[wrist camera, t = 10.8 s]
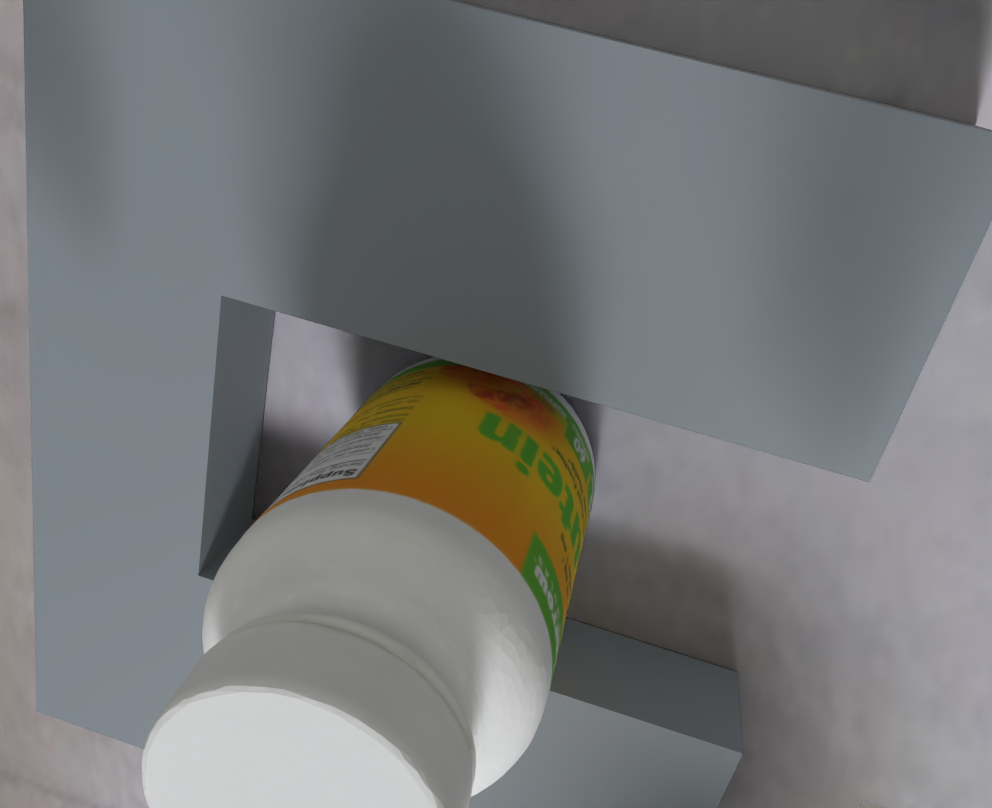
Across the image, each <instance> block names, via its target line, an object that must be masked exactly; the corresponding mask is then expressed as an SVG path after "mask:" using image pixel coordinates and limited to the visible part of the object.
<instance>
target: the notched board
mask: <svg viewBox="0 0 992 808" xmlns="http://www.w3.org/2000/svg"><path fill="white" fill-rule="evenodd" d="M23 12H24V66H25V120H26V173H27V227H28V281H29V334H30V388H31V442H32V495H33V549H34V603H35V656H36V710H37V712H40V713H43V714H46V715H49V716H51V717H54V718H57V719H60V720H63V721H66V722H68V723H71V724H74V725H77V726H80V727H83V728H85V729H88V730H91V731H94V732H97V733H100V734H102V735H105V736H108V737H111V738H114V739H117V740H119V741H122V742H125V743H128V744H131V745H134V746H136V747H139V748H142V749H144V746H145V743H146V740H147V737H148V734H149V732H150V730H151V727H152V726H153V724H154V722H155V720H156V718H157V717H158V715H159V714H160V713H161V711H162V710H163V709H164V707H165V706H166V705H167V703H168V702H169V701H170V699H171V698H172V697H173V695H174V694H175V693H176V691H177V690H178V689H179V687H180V686H181V685H182V683H183V682H184V681H185V680H186V678H187V677H188V676H189V674H190V672H191V671H192V669H193V668H194V666H195V665H196V663H197V662H198V661H199V659H200V658H201V657H202V656H203V655H204V650H203V641H202V630H203V618H204V609H205V605H206V600H207V597H208V594H209V591H210V588H211V585H212V583H213V581H214V578H215V576H216V574H217V572H218V570H219V568H220V567H221V565H222V563H223V562H224V560H225V559H226V557H227V556H228V554H229V553H230V551H231V550H232V549H233V548H234V546H235V545H236V544H237V543H238V541H239V540H240V539H241V538H242V536H243V535H244V534H245V532H246V531H247V530H248V529H249V528H250V527H251V526H252V524H253V523H254V522H255V521H256V519H253V518H252V515H253V506H254V497H255V488H256V479H257V470H258V461H259V452H260V443H261V434H262V425H263V416H264V407H265V398H266V389H267V380H268V371H269V362H270V353H271V344H272V335H273V326H274V317H275V311H277V312H281V313H284V314H288V315H291V316H294V317H298V318H301V319H305V320H308V321H312V322H315V323H319V324H322V325H326V326H329V327H333V328H336V329H340V330H343V331H347V332H350V333H353V334H357V335H360V336H364V337H367V338H371V339H374V340H378V341H381V342H385V343H388V344H392V345H395V346H399V347H402V348H405V349H409V350H412V351H416V352H419V353H423V354H426V355H430V356H433V357H437V358H440V359H444V360H447V361H451V362H454V363H457V364H461V365H464V366H468V367H471V368H475V369H478V370H482V371H485V372H489V373H492V374H496V375H499V376H503V377H506V378H510V379H513V380H516V381H520V382H523V383H527V384H530V385H534V386H537V387H541V388H544V389H548V390H551V391H555V392H558V393H562V394H565V395H568V396H572V397H575V398H579V399H582V400H586V401H589V402H593V403H596V404H600V405H603V406H607V407H610V408H614V409H617V410H620V411H624V412H627V413H631V414H634V415H638V416H641V417H645V418H648V419H652V420H655V421H659V422H662V423H666V424H669V425H673V426H676V427H679V428H683V429H686V430H690V431H693V432H697V433H700V434H704V435H707V436H711V437H714V438H718V439H721V440H725V441H728V442H731V443H735V444H738V445H742V446H745V447H749V448H752V449H756V450H759V451H763V452H766V453H770V454H773V455H777V456H780V457H783V458H787V459H790V460H794V461H797V462H801V463H804V464H808V465H811V466H815V467H818V468H822V469H825V470H829V471H832V472H836V473H839V474H842V475H846V476H849V477H853V478H856V479H860V480H863V481H867V482H870V480H871V478H872V476H873V473H874V471H875V469H876V467H877V465H878V463H879V461H880V458H881V456H882V454H883V452H884V450H885V448H886V446H887V443H888V441H889V439H890V437H891V435H892V433H893V431H894V428H895V426H896V424H897V422H898V420H899V418H900V416H901V413H902V411H903V409H904V407H905V405H906V403H907V401H908V398H909V396H910V394H911V392H912V390H913V388H914V386H915V383H916V381H917V379H918V377H919V375H920V373H921V371H922V368H923V366H924V364H925V362H926V360H927V358H928V356H929V353H930V351H931V349H932V347H933V345H934V343H935V341H936V338H937V336H938V334H939V332H940V330H941V328H942V326H943V323H944V321H945V319H946V317H947V315H948V313H949V311H950V308H951V306H952V304H953V302H954V300H955V298H956V296H957V293H958V291H959V289H960V287H961V285H962V283H963V281H964V278H965V276H966V274H967V272H968V270H969V268H970V266H971V263H972V261H973V259H974V257H975V255H976V253H977V251H978V248H979V246H980V244H981V242H982V240H983V238H984V236H985V233H986V231H987V229H988V227H989V225H990V223H991V221H992V130H989V129H986V128H982V127H979V126H975V125H971V124H967V123H962V122H958V121H954V120H950V119H946V118H942V117H938V116H933V115H929V114H925V113H921V112H917V111H913V110H909V109H904V108H900V107H896V106H892V105H888V104H884V103H880V102H875V101H871V100H867V99H863V98H859V97H855V96H850V95H846V94H842V93H838V92H834V91H830V90H826V89H821V88H817V87H813V86H809V85H805V84H801V83H797V82H792V81H788V80H784V79H780V78H776V77H772V76H768V75H763V74H759V73H755V72H751V71H747V70H743V69H738V68H734V67H730V66H726V65H722V64H718V63H714V62H709V61H705V60H701V59H697V58H693V57H689V56H685V55H680V54H676V53H672V52H668V51H664V50H660V49H656V48H651V47H647V46H643V45H639V44H635V43H631V42H626V41H622V40H618V39H614V38H610V37H606V36H602V35H597V34H593V33H589V32H585V31H581V30H577V29H573V28H568V27H564V26H560V25H556V24H552V23H548V22H544V21H539V20H535V19H531V18H527V17H523V16H519V15H514V14H510V13H506V12H502V11H498V10H494V9H490V8H485V7H481V6H477V5H473V4H469V3H465V2H461V1H456V0H23ZM742 754H743V750H742V735H741V720H740V705H739V689H738V674H737V672H735V671H732V670H729V669H726V668H723V667H720V666H717V665H713V664H710V663H707V662H704V661H701V660H698V659H694V658H691V657H688V656H685V655H682V654H679V653H676V652H672V651H669V650H666V649H663V648H660V647H657V646H653V645H650V644H647V643H644V642H641V641H638V640H635V639H631V638H628V637H625V636H622V635H619V634H616V633H612V632H609V631H606V630H603V629H600V628H597V627H594V626H590V625H587V624H584V623H581V622H578V621H575V620H571V619H568V618H566V619H565V624H564V628H563V633H562V638H561V643H560V647H559V651H558V655H557V661H556V665H555V670H554V674H553V678H552V683H551V688H550V691H549V695H548V699H547V702H546V705H545V708H544V712H543V715H542V718H541V721H540V723H539V726H538V728H537V730H536V733H535V735H534V737H533V739H532V741H531V742H530V744H529V746H528V748H527V749H526V750H525V752H524V753H523V754H522V755H521V757H520V758H519V759H518V761H517V762H516V763H515V764H514V765H513V766H512V767H511V768H510V769H509V770H508V771H507V772H506V773H505V774H504V775H503V776H502V777H501V778H499V779H498V780H497V781H496V782H494V783H493V784H492V785H490V786H489V787H487V788H485V789H484V790H482V791H481V792H479V793H478V794H476V795H474V796H472V797H471V798H470V803H469V807H468V808H718V806H719V803H720V801H721V799H722V797H723V795H724V793H725V791H726V788H727V786H728V784H729V782H730V780H731V778H732V776H733V773H734V771H735V769H736V767H737V765H738V763H739V761H740V758H741V756H742Z"/></svg>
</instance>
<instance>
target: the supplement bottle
mask: <svg viewBox="0 0 992 808" xmlns="http://www.w3.org/2000/svg"><path fill="white" fill-rule="evenodd" d="M594 490H595V465H594V457H593V452H592V448H591V444H590V442H589V439H588V436H587V433H586V431H585V429H584V427H583V425H582V423H581V421H580V419H579V418H578V416H577V414H576V413H575V411H574V410H573V408H572V407H571V406H570V404H569V403H568V402H567V401H566V400H565V398H564V397H563V396H562V395H561V394H560V393H558V392H555V391H551V390H548V389H544V388H541V387H537V386H534V385H530V384H527V383H523V382H520V381H516V380H513V379H510V378H506V377H503V376H499V375H496V374H492V373H489V372H485V371H482V370H478V369H475V368H471V367H468V366H464V365H461V364H457V363H454V362H451V361H447V360H444V359H440V358H437V357H432V358H428V359H425V360H423V361H420V362H418V363H415V364H413V365H411V366H409V367H407V368H405V369H403V370H402V371H400V372H399V373H397V374H396V375H394V376H393V377H392V378H390V379H389V380H388V381H387V382H386V383H385V384H383V385H382V386H381V387H380V388H379V389H378V390H377V391H376V392H375V393H374V394H373V395H372V396H371V397H370V398H369V399H368V400H367V401H366V402H365V403H364V404H363V406H362V407H361V408H360V409H359V410H358V411H357V412H356V413H355V414H354V415H353V417H352V418H351V419H350V420H349V421H348V422H347V423H346V424H345V425H344V426H343V427H342V428H341V430H340V431H339V432H338V433H337V434H336V435H335V436H334V437H333V438H332V439H331V440H330V441H329V443H328V444H327V445H326V446H325V447H324V448H323V449H322V450H321V451H320V452H319V453H318V454H317V455H316V457H315V458H314V459H313V460H312V461H311V462H310V463H309V464H308V465H307V467H306V468H305V469H304V470H303V471H302V472H301V473H300V474H299V475H298V476H297V477H296V479H295V480H294V481H293V482H292V483H291V484H290V485H289V486H288V487H287V488H286V489H285V490H284V492H283V493H282V494H281V495H280V496H279V497H278V498H277V499H276V500H275V501H274V502H273V503H272V504H271V506H270V507H269V508H267V509H266V510H265V512H264V513H263V514H262V515H261V516H260V517H259V518H258V519H257V520H256V521H255V522H254V523H253V524H252V526H251V527H250V528H249V529H248V530H247V531H246V532H245V534H244V535H243V536H242V538H241V539H240V540H239V541H238V543H237V544H236V545H235V546H234V548H233V549H232V550H231V551H230V553H229V554H228V556H227V557H226V559H225V560H224V562H223V563H222V565H221V567H220V568H219V570H218V572H217V574H216V576H215V578H214V581H213V583H212V585H211V588H210V591H209V594H208V597H207V600H206V605H205V609H204V618H203V630H202V641H203V650H204V655H203V656H202V657H201V658H200V659H199V661H198V662H197V663H196V665H195V666H194V668H193V669H192V671H191V672H190V674H189V676H188V677H187V678H186V680H185V681H184V682H183V683H182V685H181V686H180V687H179V689H178V690H177V691H176V693H175V694H174V695H173V697H172V698H171V699H170V701H169V702H168V703H167V705H166V706H165V707H164V709H163V710H162V711H161V713H160V714H159V715H158V717H157V718H156V720H155V722H154V724H153V726H152V727H151V730H150V732H149V734H148V737H147V740H146V743H145V746H144V750H143V754H142V784H143V789H144V794H145V797H146V801H147V804H148V806H149V808H468V807H469V803H470V798H471V797H472V796H474V795H476V794H478V793H479V792H481V791H482V790H484V789H485V788H487V787H489V786H490V785H492V784H493V783H494V782H496V781H497V780H498V779H499V778H501V777H502V776H503V775H504V774H505V773H506V772H507V771H508V770H509V769H510V768H511V767H512V766H513V765H514V764H515V763H516V762H517V761H518V759H519V758H520V757H521V755H522V754H523V753H524V752H525V750H526V749H527V748H528V746H529V744H530V742H531V741H532V739H533V737H534V735H535V733H536V730H537V728H538V726H539V723H540V721H541V718H542V715H543V712H544V708H545V705H546V702H547V699H548V695H549V691H550V688H551V683H552V678H553V674H554V670H555V665H556V661H557V655H558V651H559V647H560V643H561V638H562V633H563V628H564V624H565V619H566V614H567V610H568V607H569V604H570V600H571V595H572V591H573V585H574V580H575V576H576V571H577V567H578V562H579V558H580V554H581V551H582V546H583V542H584V538H585V534H586V529H587V525H588V521H589V517H590V512H591V507H592V502H593V497H594Z"/></svg>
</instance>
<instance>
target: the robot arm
mask: <svg viewBox="0 0 992 808" xmlns="http://www.w3.org/2000/svg"><path fill="white" fill-rule="evenodd" d="M859 808H884V807H881V806H878V805H875V804H872V803H869V802H866V801H862V803H861V804H860V806H859Z"/></svg>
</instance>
